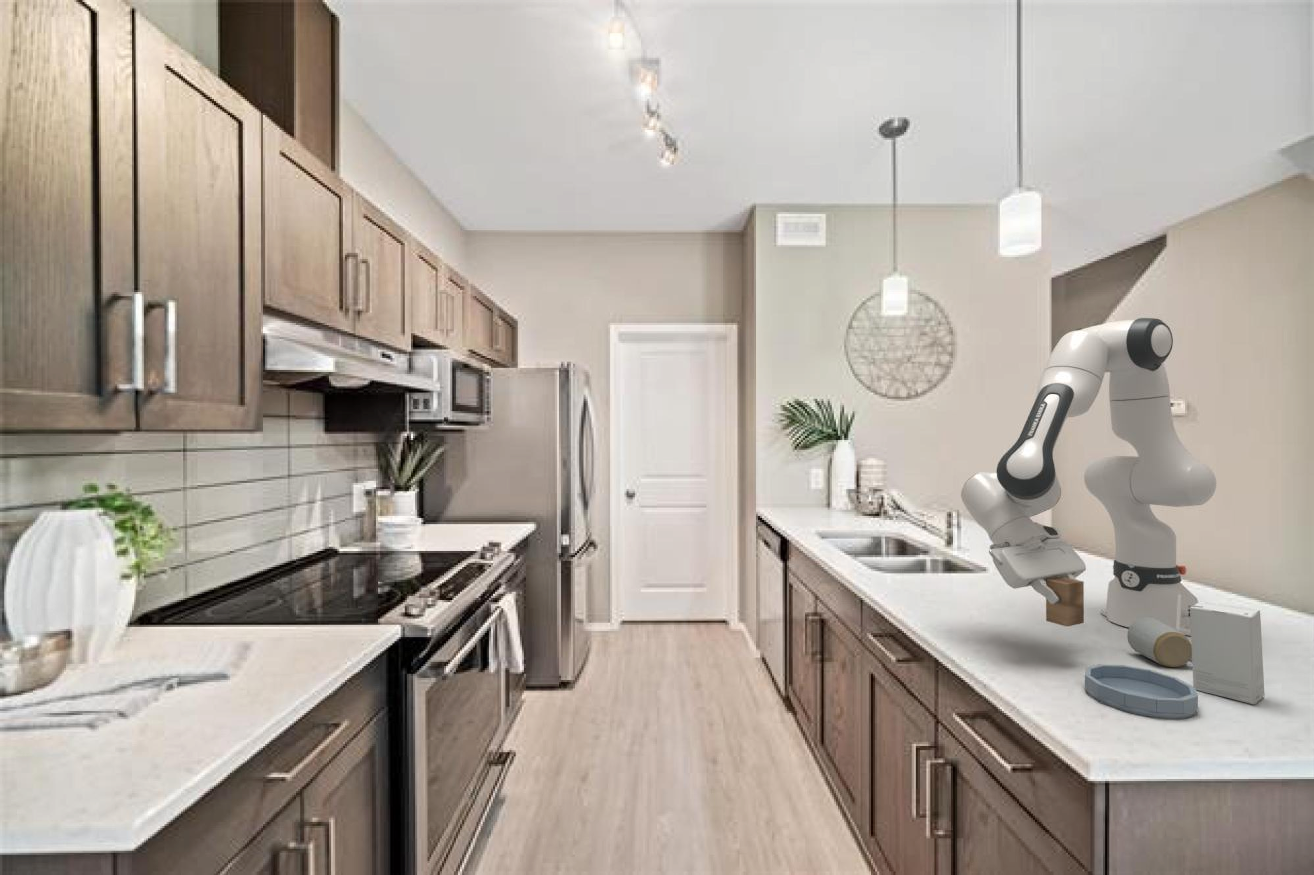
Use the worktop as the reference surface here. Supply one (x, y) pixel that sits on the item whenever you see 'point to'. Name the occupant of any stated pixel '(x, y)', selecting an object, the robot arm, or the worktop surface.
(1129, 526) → the robot arm
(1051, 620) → the walnut block
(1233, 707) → the worktop surface
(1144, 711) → the slate bowl
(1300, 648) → the worktop surface
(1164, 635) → the ceramic mug
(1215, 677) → the skincare box
